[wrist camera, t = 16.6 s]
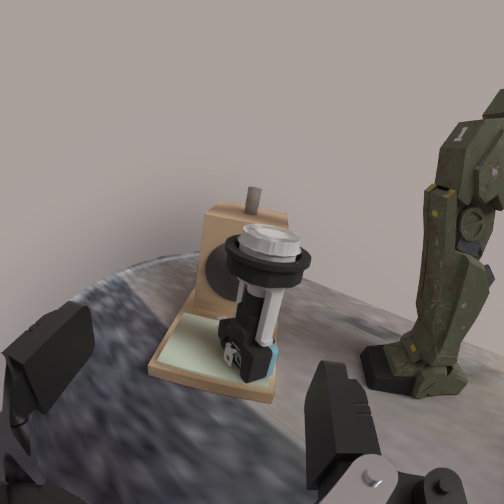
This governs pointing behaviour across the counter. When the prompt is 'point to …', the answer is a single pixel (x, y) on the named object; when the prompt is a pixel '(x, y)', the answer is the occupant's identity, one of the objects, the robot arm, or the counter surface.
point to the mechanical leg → (448, 263)
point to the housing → (214, 310)
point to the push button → (259, 295)
